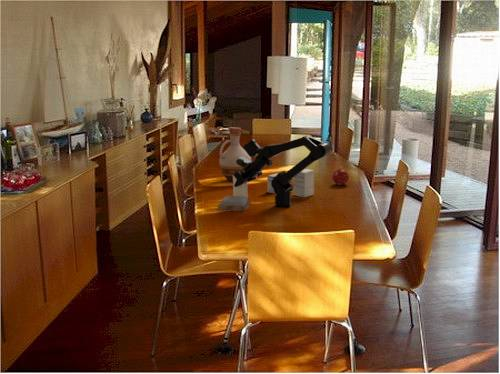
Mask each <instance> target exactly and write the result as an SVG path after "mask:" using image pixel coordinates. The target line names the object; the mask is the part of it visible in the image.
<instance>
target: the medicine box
mask: <svg viewBox="0 0 500 374" xmlns="http://www.w3.org/2000/svg"><path fill="white" fill-rule="evenodd" d="M278 173H279V172H278ZM278 173H274V174H273V173H272V174H270V175H267V193H269V194H275V192H274V189H273V188H272V185H271V181H272V180H273V179H274V178H273V177H275V176H276V175H277V174H278Z"/></svg>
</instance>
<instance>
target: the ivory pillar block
mask: <svg viewBox="0 0 500 374" xmlns="http://www.w3.org/2000/svg"><path fill="white" fill-rule="evenodd" d="M236 180H237V179H236V178H235V177H234V176H233V183H232V191H233V192H232V196H246V197H247V199H248V195H249V193H248V191H249V190H248V182H247V183H245V184H242V185H240V186H237V187H235V186H234V185H235V183H236Z"/></svg>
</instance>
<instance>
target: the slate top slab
mask: <svg viewBox="0 0 500 374" xmlns="http://www.w3.org/2000/svg"><path fill="white" fill-rule="evenodd" d="M247 200H248V198H247V197H246V196H233V195H225V196H224V197H223V198H222V200H221V202H220V204H221V205H224V206H243V205H244V204H245V203H246V202H247Z"/></svg>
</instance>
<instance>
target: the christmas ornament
mask: <svg viewBox="0 0 500 374" xmlns="http://www.w3.org/2000/svg"><path fill="white" fill-rule="evenodd" d="M349 175H350V174H349V172H348V171H347V170H345V169H343V167H342V166H339V169H336V170H334V172H333V173H332V180H333V183H335V184H336V185H338V186H343V185H345V184H347V182H349V178H350V177H349Z"/></svg>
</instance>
